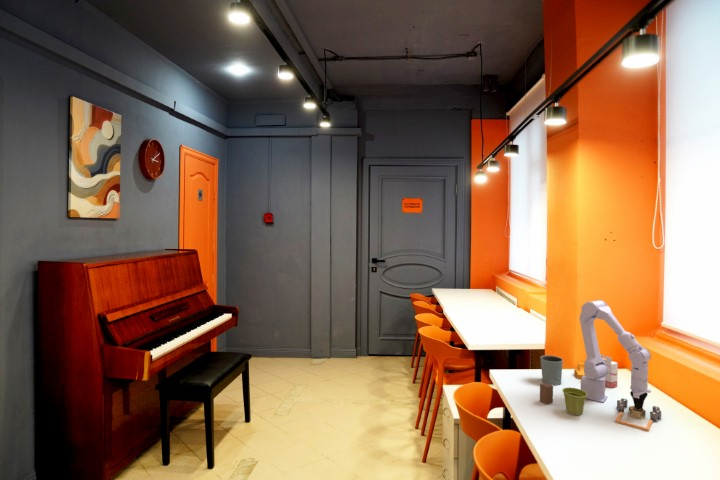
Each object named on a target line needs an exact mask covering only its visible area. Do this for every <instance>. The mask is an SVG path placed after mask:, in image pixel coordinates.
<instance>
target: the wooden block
mask: <svg viewBox="0 0 720 480" xmlns="http://www.w3.org/2000/svg"><path fill="white" fill-rule="evenodd" d="M539 402H541V403H542V404H544V405H550V404H551V405H552V404H553V403H554V385H550V384H548V383H544V382H542V383H540V384H539Z"/></svg>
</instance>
